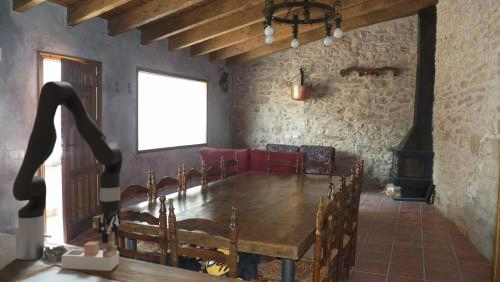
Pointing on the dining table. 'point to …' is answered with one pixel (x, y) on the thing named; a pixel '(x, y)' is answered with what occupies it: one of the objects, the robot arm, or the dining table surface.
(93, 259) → the sweep board
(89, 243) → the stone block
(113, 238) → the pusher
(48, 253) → the grey green rough clump
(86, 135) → the robot arm
